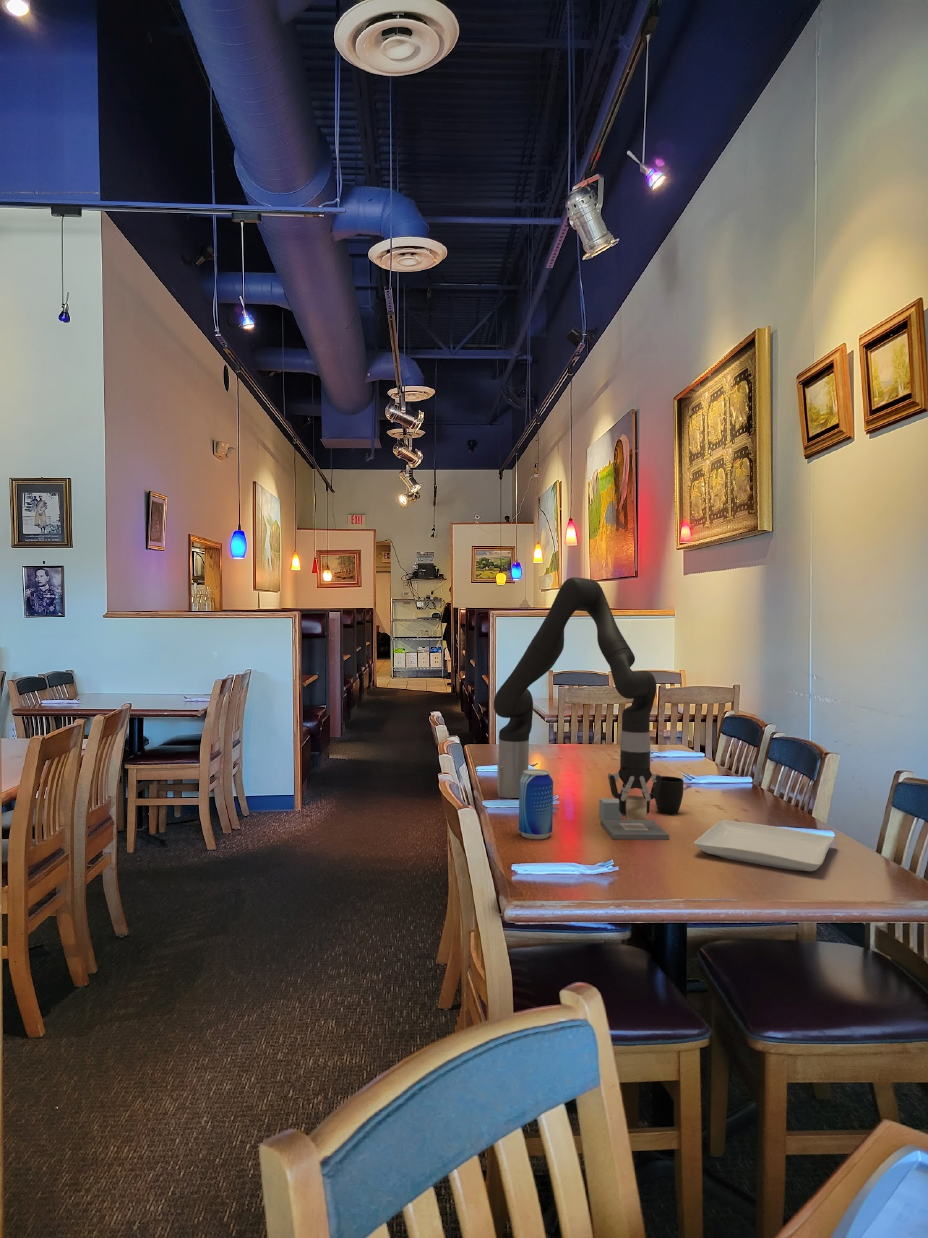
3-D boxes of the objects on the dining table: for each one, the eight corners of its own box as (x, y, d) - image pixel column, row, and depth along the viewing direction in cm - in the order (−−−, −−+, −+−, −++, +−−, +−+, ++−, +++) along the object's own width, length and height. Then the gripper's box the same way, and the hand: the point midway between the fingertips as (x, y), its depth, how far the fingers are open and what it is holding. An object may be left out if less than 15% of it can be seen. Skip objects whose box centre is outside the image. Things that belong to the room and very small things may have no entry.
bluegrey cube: (603, 821, 208) (603, 802, 208) (599, 816, 213) (599, 798, 213) (621, 821, 208) (622, 803, 208) (617, 816, 213) (617, 798, 213)
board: (613, 839, 190) (613, 834, 190) (600, 824, 204) (600, 819, 204) (669, 839, 191) (669, 834, 191) (652, 824, 205) (652, 819, 205)
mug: (669, 805, 227) (669, 773, 227) (688, 815, 215) (688, 781, 215) (643, 806, 225) (643, 773, 225) (660, 816, 214) (661, 782, 214)
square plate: (821, 881, 163) (821, 863, 163) (691, 858, 178) (691, 841, 178) (836, 850, 186) (836, 834, 186) (720, 832, 201) (720, 817, 201)
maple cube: (627, 819, 195) (627, 800, 195) (622, 814, 200) (622, 795, 200) (646, 819, 195) (646, 800, 195) (641, 814, 200) (641, 795, 200)
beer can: (530, 842, 187) (531, 776, 187) (512, 833, 194) (513, 769, 194) (558, 838, 191) (560, 773, 191) (540, 829, 198) (541, 767, 198)
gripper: (611, 750, 194) (610, 818, 194) (667, 751, 194) (666, 818, 194) (604, 746, 201) (603, 811, 201) (658, 746, 202) (657, 811, 202)
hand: (634, 814), depth 198 cm, fingers closed on maple cube, 5 cm apart
